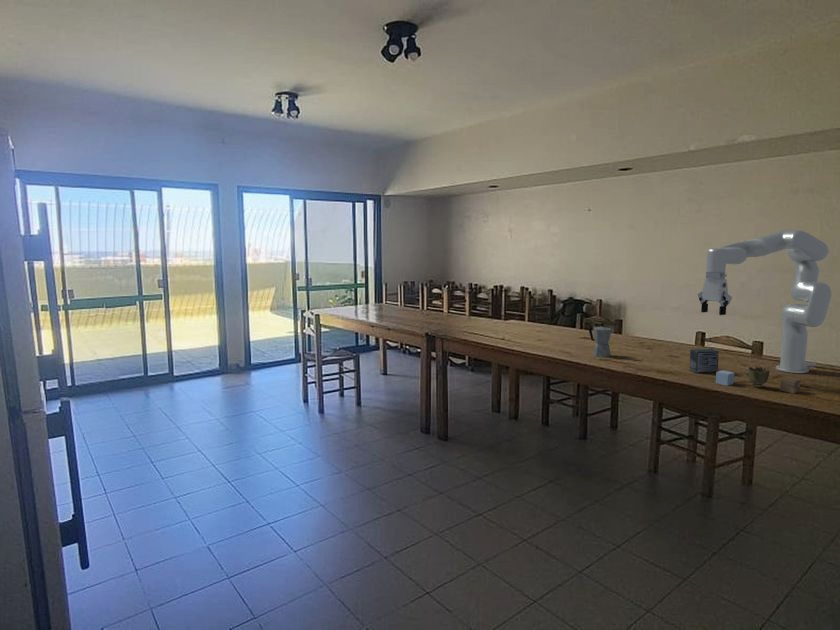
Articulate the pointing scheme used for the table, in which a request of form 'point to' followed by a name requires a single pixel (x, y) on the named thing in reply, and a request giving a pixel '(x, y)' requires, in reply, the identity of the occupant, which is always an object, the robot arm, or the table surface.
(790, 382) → the walnut cube
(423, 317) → the table surface
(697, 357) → the small box
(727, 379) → the slate-blue cube
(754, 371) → the cup
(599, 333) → the coffeepot
